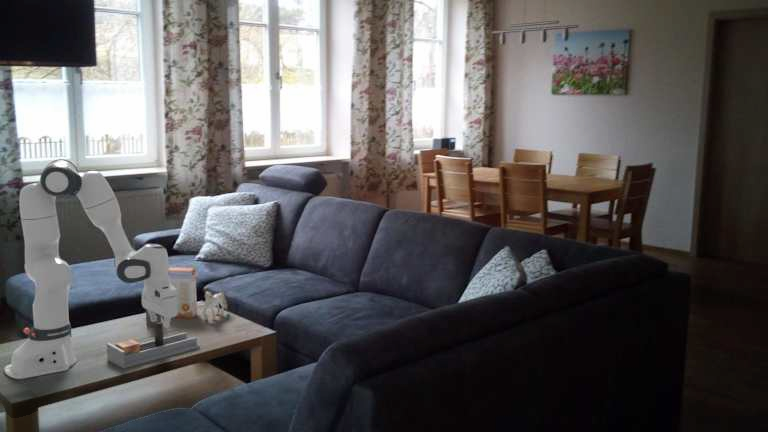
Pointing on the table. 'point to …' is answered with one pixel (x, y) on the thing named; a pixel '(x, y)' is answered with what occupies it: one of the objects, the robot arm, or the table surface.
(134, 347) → the block and post stand
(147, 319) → the bottle
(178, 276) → the cracker box
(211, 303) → the unicorn figurine
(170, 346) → the board
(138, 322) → the table surface
